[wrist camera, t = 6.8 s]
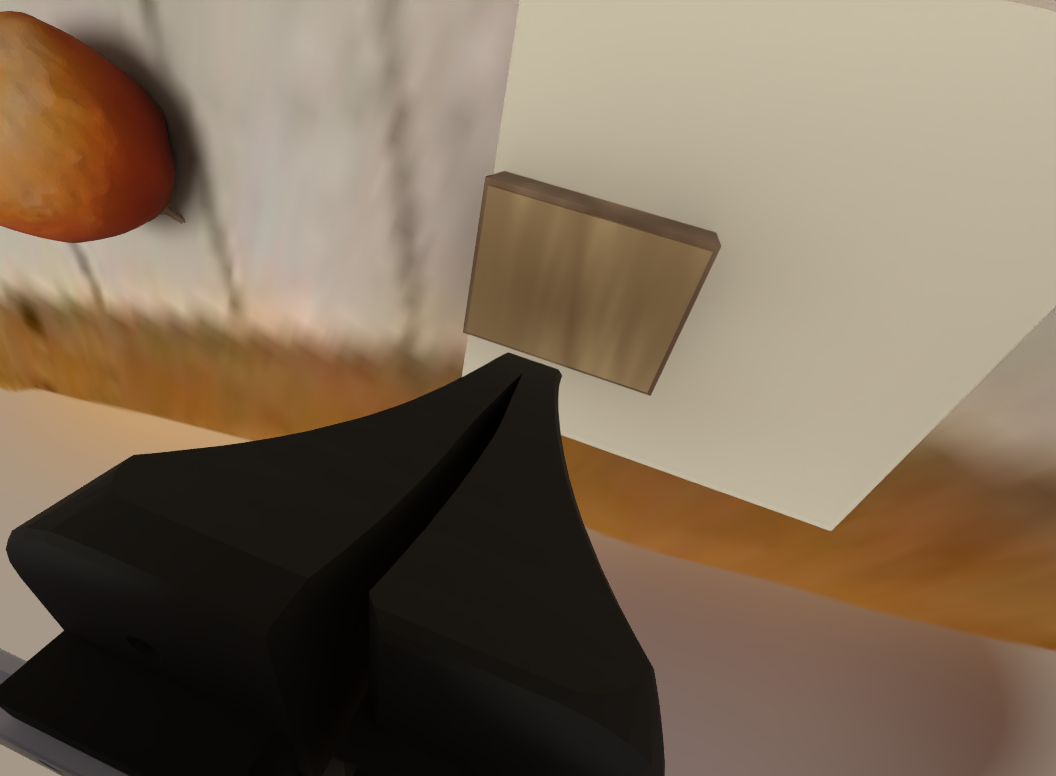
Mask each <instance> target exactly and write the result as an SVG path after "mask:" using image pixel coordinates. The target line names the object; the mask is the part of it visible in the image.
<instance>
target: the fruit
mask: <svg viewBox="0 0 1056 776" xmlns="http://www.w3.org/2000/svg"><path fill="white" fill-rule="evenodd" d="M174 182H175V164H174V159H173V154H172V151H171V147H170V143H169V138H168V133H167V128H166V123H165V119H164V115H163V114H162V112H161V111H160V109H159V108H158V106H157V105H156V104H155V103H154V101H153V100H152V99H151V98H150V97H149V96H148V94H147V93H146V92H145V91H144V90H143V89H142V88H141V87H140V86H139V85H138V84H137V83H136V82H135V81H134V80H133V79H132V78H131V77H130V76H128V75H127V74H126V73H125V72H123V71H122V70H121V69H119V68H118V67H117V66H115V65H114V64H112V63H111V62H110V61H108V60H107V59H106V58H104V57H103V56H102V55H100V54H99V53H97V52H96V51H95V50H93V49H92V48H90V47H89V46H87V45H86V44H84V43H82V42H81V41H79V40H78V39H76V38H74V37H73V36H71V35H69V34H67V33H65V32H64V31H62V30H60V29H58V28H55V27H53V26H51V25H49V24H47V23H45V22H43V21H41V20H39V19H37V18H35V17H33V16H30V15H28V14H25V13H22V12H13V11H5V12H0V226H3V227H6V228H9V229H12V230H15V231H19V232H22V233H26V234H29V235H33V236H37V237H41V238H46V239H51V240H56V241H62V242H68V243H80V242H87V241H94V240H100V239H104V238H109V237H114V236H117V235H120V234H124V233H126V232H129V231H131V230H133V229H136V228H138V227H139V226H141V225H143V224H145V223H146V222H149V221H151V220H153V219H154V218H155V217H157V216H158V215H160V214H166V215H169V216H171V217H172V218H173V219H175V220H176V221H178V222H180V223H181V224H182V222H185V220H184V219H182V218H181V217H180V216H178V215H177V214H176V213H175V212H174V211H173V210H172V209H171V208H170V207H169V204H170V202H171V199H172V193H173V188H174Z"/></svg>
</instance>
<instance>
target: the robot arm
mask: <svg viewBox="0 0 1056 776" xmlns="http://www.w3.org/2000/svg"><path fill="white" fill-rule="evenodd" d="M561 378H562V374H561V372H560V371H559V369H556V368H553V367H550V366H547V365H544V364H541V363H538V362H535V361H532V360H529V359H527V358H524V357H521V356H518V355H515V354H512V353H509V352H508V353H505V354H503V355H501V356H500V357H498V358H496V359H494V360H492V361H491V362H489V363H487V364H485V365H483V366H482V367H480V368H478V369H476V370H474V371H473V372H471V373H469V374H467V375H465V376H463V377H461V378H459V379H457V380H455V381H453V382H451V383H449V384H447V385H445V386H443V387H441V388H439V389H437V390H435V391H432V392H430V393H428V394H425V395H423V396H421V397H419V398H416V399H414V400H412V401H409V402H407V403H404V404H401V405H399V406H396V407H393V408H390V409H387V410H384V411H381V412H378V413H375V414H372V415H369V416H365V417H362V418H358V419H354V420H350V421H346V422H342V423H339V424H335V425H331V426H327V427H323V428H319V429H315V430H311V431H306V432H301V433H296V434H291V435H286V436H281V437H275V438H269V439H263V440H257V441H251V442H245V443H238V444H232V445H224V446H216V447H207V448H198V449H189V450H181V451H171V452H162V453H152V454H140V455H133V456H131V457H130V458H128V459H126V460H125V461H123V462H121V463H120V464H118V465H117V466H115V467H113V468H112V469H110V470H108V471H107V472H105V473H104V474H102V475H100V476H99V477H97V478H96V479H94V480H92V481H91V482H90V483H88V484H86V485H84V486H83V487H81V488H80V489H78V490H76V491H75V492H74V493H72V494H70V495H68V496H67V497H65V498H64V499H62V500H60V501H59V502H57V503H56V504H54V505H52V506H51V507H49V508H48V509H46V510H44V511H43V512H41V513H40V514H38V515H36V516H35V517H33V518H32V519H30V520H28V521H27V522H25V523H24V524H22V525H20V526H19V527H17V528H16V529H14V530H12V532H11V535H10V537H9V539H8V542H7V546H6V551H7V554H8V557H9V561H10V563H11V564H12V566H13V567H14V569H15V570H16V571H17V573H18V574H19V576H20V577H21V579H22V580H23V581H24V582H25V583H26V585H27V586H28V587H29V588H30V589H31V591H32V592H33V593H34V594H35V595H36V597H37V598H38V599H39V600H40V602H41V603H42V604H43V605H44V606H45V608H46V609H47V610H48V611H49V612H50V614H51V615H52V616H53V617H54V619H55V620H56V621H57V622H58V623H59V624H60V626H61V627H62V628H63V629H64V631H63V632H62V633H61V634H60V635H58V636H57V637H56V638H55V639H54V640H52V641H51V642H50V643H49V644H48V645H46V646H45V647H44V648H43V649H42V650H41V651H40V652H38V653H37V654H36V655H35V656H34V657H32V658H31V659H30V660H29V661H25V660H23V659H21V658H19V657H17V656H15V655H12V654H11V653H8V652H6V651H4V650H2V649H0V744H1V745H4V746H5V747H7V748H9V749H11V750H13V751H15V752H17V753H19V754H21V755H23V756H25V757H27V758H29V759H30V760H32V761H34V762H37V763H38V764H40V765H42V766H44V767H46V768H48V769H50V770H52V771H54V772H56V773H57V774H60V775H61V776H665V759H664V745H663V733H662V723H661V714H660V705H659V699H658V692H657V685H656V679H655V673H654V669H653V667H652V665H651V663H650V662H649V660H648V658H647V656H646V654H645V652H644V651H643V649H642V647H641V645H640V644H639V642H638V640H637V638H636V637H635V634H634V633H633V631H632V629H631V627H630V625H629V623H628V621H627V619H626V618H625V615H624V614H623V612H622V610H621V608H620V606H619V604H618V602H617V600H616V598H615V596H614V594H613V592H612V589H611V588H610V585H609V583H608V581H607V579H606V577H605V575H604V572H603V570H602V568H601V566H600V563H599V561H598V559H597V556H596V554H595V551H594V549H593V546H592V544H591V541H590V539H589V536H588V534H587V532H586V529H585V526H584V524H583V521H582V518H581V515H580V512H579V509H578V506H577V503H576V500H575V497H574V493H573V490H572V486H571V483H570V479H569V475H568V471H567V466H566V462H565V457H564V451H563V446H562V439H561V432H560V421H559V407H558V397H559V384H560V381H561Z"/></svg>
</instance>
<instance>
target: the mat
mask: <svg viewBox="0 0 1056 776" xmlns="http://www.w3.org/2000/svg"><path fill="white" fill-rule="evenodd" d="M502 171H507V172H510V173H514V174H517V175H521V176H524V177H527V178H531V179H534V180H538V181H541V182H545V183H548V184H551V185H555V186H558V187H562V188H565V189H569V190H572V191H575V192H579V193H582V194H586V195H589V196H593V197H596V198H599V199H603V200H606V201H610V202H613V203H617V204H620V205H623V206H627V207H630V208H634V209H637V210H641V211H644V212H648V213H651V214H654V215H658V216H661V217H665V218H668V219H672V220H675V221H678V222H682V223H685V224H689V225H692V226H696V227H699V228H702V229H706V230H709V231H713V232H716V233H717V236H718V239H719V241H720V244H721V248H720V250H719V252H718V255H717V257H716V259H715V261H714V263H713V265H712V267H711V269H710V271H709V274H708V276H707V278H706V280H705V282H704V284H703V286H702V288H701V290H700V293H699V295H698V297H697V299H696V301H695V303H694V305H693V307H692V310H691V312H690V314H689V316H688V318H687V320H686V322H685V324H684V326H683V329H682V331H681V333H680V335H679V337H678V339H677V341H676V343H675V345H674V348H673V350H672V352H671V354H670V356H669V358H668V360H667V362H666V365H665V367H664V369H663V371H662V373H661V375H660V377H659V379H658V381H657V384H656V386H655V388H654V390H653V392H652V394H651V396H649V395H646V394H643V393H640V392H637V391H634V390H632V389H629V388H626V387H623V386H620V385H617V384H614V383H611V382H608V381H605V380H602V379H599V378H596V377H593V376H590V375H587V374H584V373H581V372H578V371H575V370H572V369H569V368H567V367H564V366H561V365H558V364H555V363H552V362H549V361H546V360H543V359H540V358H537V357H534V356H531V355H528V354H525V353H522V352H519V351H516V350H513V349H510V348H507V347H505V346H502V345H499V344H496V343H493V342H490V341H487V340H484V339H481V338H478V337H475V336H472V335H469V334H468V340H467V346H466V353H465V359H464V366H463V372H462V377H463V376H465V375H467V374H469V373H471V372H473V371H474V370H476V369H478V368H480V367H482V366H483V365H485V364H487V363H489V362H491V361H492V360H494V359H496V358H498V357H500V356H501V355H503V354H505V353H508V352H509V353H512V354H515V355H518V356H521V357H524V358H527V359H529V360H532V361H535V362H538V363H541V364H544V365H547V366H550V367H553V368H556V369H559V371H560V372H561V374H562V378H561V381H560V384H559V397H558V407H559V421H560V432H561V435H563V436H566V437H568V438H571V439H574V440H577V441H580V442H582V443H585V444H588V445H591V446H594V447H597V448H599V449H602V450H605V451H608V452H611V453H613V454H616V455H619V456H622V457H625V458H627V459H630V460H633V461H636V462H639V463H641V464H644V465H647V466H650V467H653V468H655V469H658V470H661V471H664V472H667V473H669V474H672V475H675V476H678V477H681V478H683V479H686V480H689V481H692V482H695V483H697V484H700V485H703V486H706V487H709V488H711V489H714V490H717V491H720V492H723V493H725V494H728V495H731V496H734V497H737V498H739V499H742V500H745V501H748V502H751V503H753V504H756V505H759V506H762V507H765V508H767V509H770V510H773V511H776V512H779V513H781V514H784V515H787V516H790V517H793V518H795V519H798V520H801V521H804V522H807V523H810V524H812V525H815V526H818V527H821V528H824V529H826V530H829V531H832V530H833V529H834V528H835V527H836V526H837V525H838V524H839V523H840V522H841V521H842V520H843V519H844V518H845V517H846V516H847V515H848V514H849V513H850V512H851V511H852V510H853V509H854V508H855V507H856V506H857V505H858V504H859V503H860V502H861V501H862V500H863V499H864V498H865V497H866V496H867V495H868V494H869V493H870V492H871V491H872V490H873V489H874V488H875V487H876V486H877V485H878V484H879V483H880V482H881V481H882V480H883V479H884V478H885V477H886V476H887V475H888V474H889V473H890V472H891V471H892V470H893V469H894V468H895V467H896V466H897V465H898V464H899V463H900V462H901V461H902V460H903V459H904V458H905V457H906V456H907V455H908V454H909V453H910V452H911V451H912V450H913V449H914V448H915V447H916V446H917V445H918V444H919V443H920V442H921V441H922V440H923V439H924V438H925V437H926V436H927V435H928V434H929V433H930V432H931V431H932V430H933V429H934V428H935V427H936V426H937V425H938V424H939V423H940V422H941V421H942V420H943V419H944V418H945V417H946V415H947V414H948V413H949V412H950V411H951V410H952V409H953V408H954V407H955V406H956V405H957V404H958V403H959V402H960V401H961V400H962V399H963V398H964V397H965V396H966V395H967V394H968V393H969V392H970V391H971V390H972V389H973V388H974V387H975V386H976V385H977V384H978V383H979V382H980V381H981V380H982V379H983V378H984V377H985V376H986V375H987V374H988V373H989V372H990V371H991V370H992V369H993V368H994V367H995V366H996V365H997V364H998V363H999V362H1000V361H1001V360H1002V359H1003V358H1004V357H1005V356H1006V355H1007V354H1008V353H1009V352H1010V351H1011V350H1012V349H1013V348H1014V347H1015V346H1016V345H1017V344H1018V343H1019V342H1020V341H1021V340H1022V339H1023V338H1024V337H1025V336H1026V335H1027V334H1028V333H1029V332H1030V331H1031V330H1032V329H1033V328H1034V327H1035V326H1036V325H1037V324H1038V323H1039V322H1040V321H1041V320H1042V319H1043V318H1044V317H1045V316H1046V315H1047V314H1048V313H1049V312H1050V311H1051V310H1052V309H1053V308H1054V307H1055V306H1056V11H1052V10H1048V9H1043V8H1039V7H1034V6H1029V5H1025V4H1020V3H1015V2H1011V1H1006V0H520V2H519V8H518V15H517V21H516V28H515V34H514V41H513V47H512V54H511V60H510V67H509V73H508V80H507V86H506V93H505V99H504V106H503V112H502V119H501V125H500V132H499V138H498V145H497V151H496V158H495V164H494V171H493V174H496V173H499V172H502Z"/></svg>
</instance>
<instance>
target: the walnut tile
mask: <svg viewBox="0 0 1056 776" xmlns="http://www.w3.org/2000/svg"><path fill="white" fill-rule="evenodd" d="M720 248H721V244H720V241H719V239H718V236H717V233H716V232H713V231H709V230H706V229H702V228H699V227H696V226H692V225H689V224H685V223H682V222H678V221H675V220H672V219H668V218H665V217H661V216H658V215H654V214H651V213H648V212H644V211H641V210H637V209H634V208H630V207H627V206H623V205H620V204H617V203H613V202H610V201H606V200H603V199H599V198H596V197H593V196H589V195H586V194H582V193H579V192H575V191H572V190H569V189H565V188H562V187H558V186H555V185H551V184H548V183H545V182H541V181H538V180H534V179H531V178H527V177H524V176H521V175H517V174H514V173H510V172H507V171H502V172H499V173H496V174H493V175H490V176H486V177H485V184H484V191H483V198H482V205H481V212H480V219H479V226H478V232H477V239H476V246H475V253H474V260H473V267H472V274H471V281H470V288H469V294H468V301H467V308H466V315H465V322H464V329H463V333H466V334H469V335H472V336H475V337H478V338H481V339H484V340H487V341H490V342H493V343H496V344H499V345H502V346H505V347H507V348H510V349H513V350H516V351H519V352H522V353H525V354H528V355H531V356H534V357H537V358H540V359H543V360H546V361H549V362H552V363H555V364H558V365H561V366H564V367H567V368H569V369H572V370H575V371H578V372H581V373H584V374H587V375H590V376H593V377H596V378H599V379H602V380H605V381H608V382H611V383H614V384H617V385H620V386H623V387H626V388H629V389H632V390H634V391H637V392H640V393H643V394H646V395H649V396H651V394H652V392H653V390H654V388H655V386H656V384H657V381H658V379H659V377H660V375H661V373H662V371H663V369H664V367H665V365H666V362H667V360H668V358H669V356H670V354H671V352H672V350H673V348H674V345H675V343H676V341H677V339H678V337H679V335H680V333H681V331H682V329H683V326H684V324H685V322H686V320H687V318H688V316H689V314H690V312H691V310H692V307H693V305H694V303H695V301H696V299H697V297H698V295H699V293H700V290H701V288H702V286H703V284H704V282H705V280H706V278H707V276H708V274H709V271H710V269H711V267H712V265H713V263H714V261H715V259H716V257H717V255H718V252H719V250H720Z"/></svg>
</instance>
